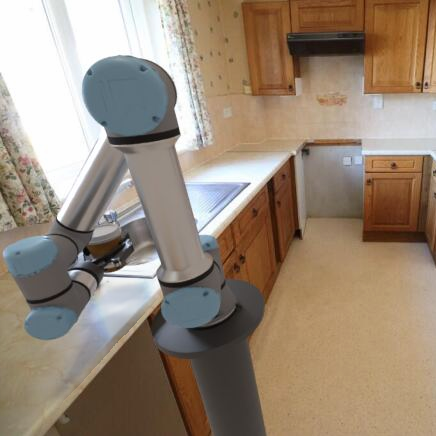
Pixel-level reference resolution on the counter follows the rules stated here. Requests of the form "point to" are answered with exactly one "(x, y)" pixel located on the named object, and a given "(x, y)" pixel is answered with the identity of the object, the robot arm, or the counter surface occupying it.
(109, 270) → the disposable coffee cup
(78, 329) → the counter surface
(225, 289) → the robot arm
